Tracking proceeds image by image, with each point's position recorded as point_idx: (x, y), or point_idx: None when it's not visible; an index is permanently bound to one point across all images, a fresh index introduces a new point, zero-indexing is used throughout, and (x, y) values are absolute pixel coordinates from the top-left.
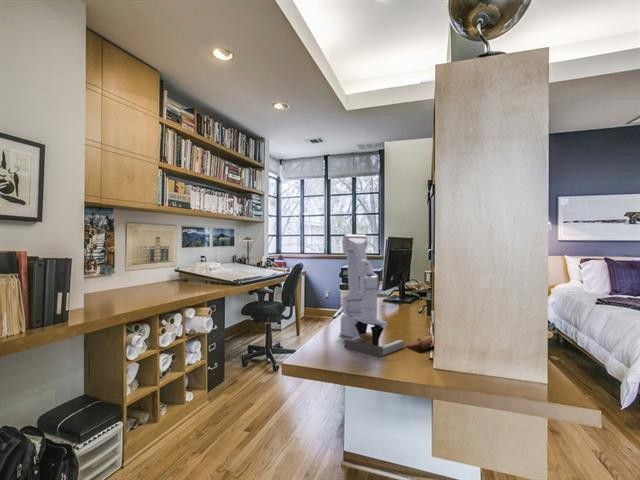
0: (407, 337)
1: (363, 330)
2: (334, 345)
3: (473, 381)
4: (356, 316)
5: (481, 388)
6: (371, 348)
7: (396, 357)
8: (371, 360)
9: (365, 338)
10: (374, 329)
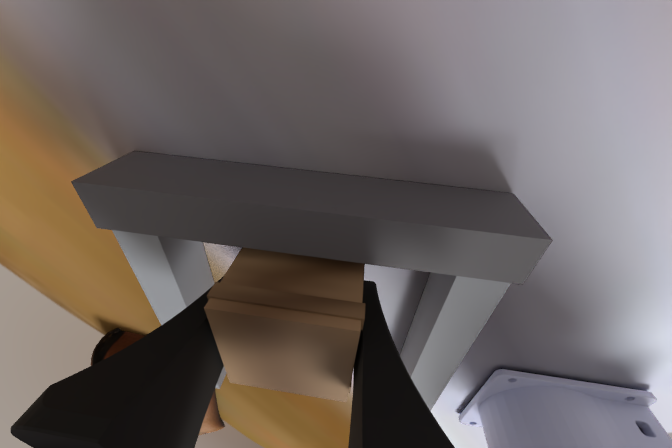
0: (295, 431)
1: (355, 402)
2: (643, 178)
3: None
4: None
5: None
6: (178, 183)
7: (88, 216)
8: (83, 16)
9: (286, 292)
10: (50, 400)
